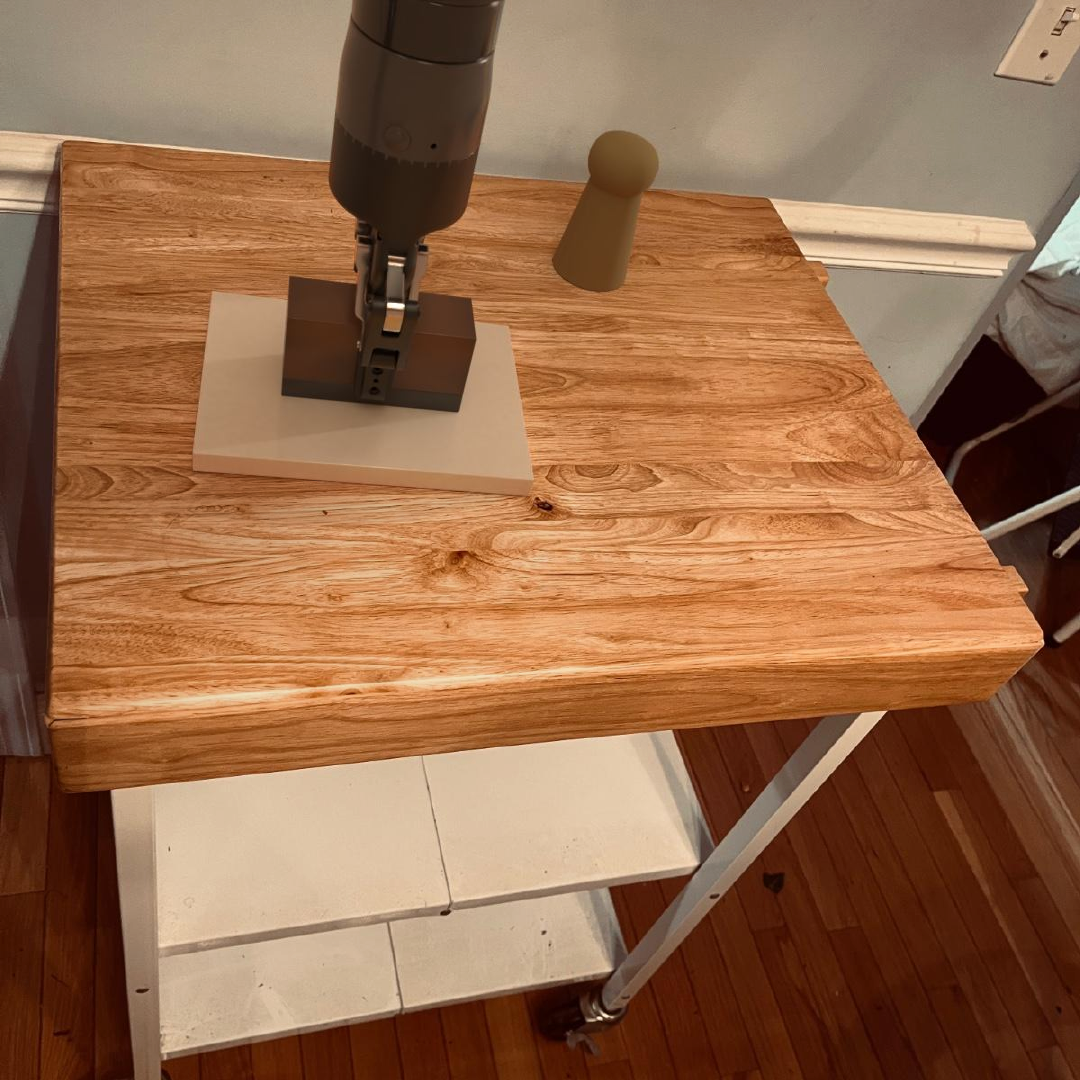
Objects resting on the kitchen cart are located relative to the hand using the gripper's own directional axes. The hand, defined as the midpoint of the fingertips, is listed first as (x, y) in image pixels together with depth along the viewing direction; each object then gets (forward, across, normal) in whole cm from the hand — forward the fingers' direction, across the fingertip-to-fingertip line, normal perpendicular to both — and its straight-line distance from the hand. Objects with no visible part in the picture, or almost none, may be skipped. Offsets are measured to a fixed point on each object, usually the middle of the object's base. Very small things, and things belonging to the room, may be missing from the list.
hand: (370, 370), depth 67 cm
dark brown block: (+1, 0, 0) cm, 1 cm away
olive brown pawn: (+3, +18, -18) cm, 26 cm away
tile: (+2, 0, 0) cm, 2 cm away
